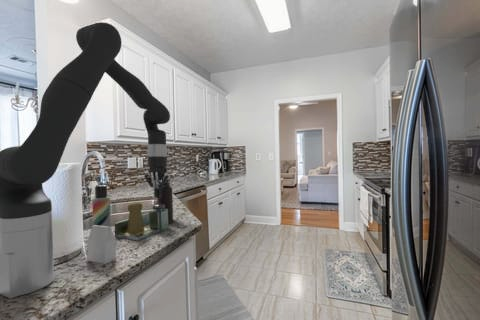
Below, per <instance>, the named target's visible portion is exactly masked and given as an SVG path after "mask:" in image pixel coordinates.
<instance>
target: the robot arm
mask: <svg viewBox="0 0 480 320" xmlns="http://www.w3.org/2000/svg"><path fill="white" fill-rule="evenodd" d="M75 40H76V42H77V45H78V46H79V48H80V50H81V51H82V52H80V54H79V55H78V56H76V57H75V58H74V59H72V60H71V61H70V62H69V63H67V64H66V65H65V66H64V67H63V68H62V69H60V71H58V73H56V74H55V76H54V77H53V78H52V79H51V81H50V83H49V85H47V87H46V89H45V91H44V92H43V95H42V97H41V101H40V109H39V116H38V120H37V122H36V124H35V126H34V127H33V129H32V131H31V132H30V134H29V135H28V136H27V137H26V139H25V141H23V143H22V144H21V145H16V146H9V147H7V148H4V149H2V150H0V295H1V296H3V297H6V298H8V299H10V300H11V299H13V298H17V297H19V296H24V295H27V294H31V293H34V292H36V291H38V290H42V289H44V288H45V287H47V286H48V285H50V284H51V283H52V282H53V281H54V280H55V266H54V265H55V263H54V261H55V259H54V239H53V236H54V235H53V207H52V206H53V205H52V199H50V198H49V197H48V195H47V194H46V193H45V191H44V188H43V184H44V183H46V182H47V181H49V180H50V179H52V178H53V176H54V175H55V173H56V171H57V169H58V167H59V165H60V162H61V159H62V157H63V155H64V152H65V149H66V146H67V143H68V142H69V140H70V137H71V135H72V134H73V132H74V130H75V128H76V126H77V125H78V123H79V121H80V119H81V117H82V115H83V114H84V112H85V110H86V108H87V107H88V106H89V103H90V102H91V99H92V98H93V95H94V93H95V91H96V90H97V87H98V85H99V84H100V82H101V80H103V79H102V78H103V76H104V74H105V73H106V75H108V76H109V78H111V79H112V80H113V81H114V82H116V84H117V85H119V86H120V87H121V89H122V90H124V92H125V93H126V94H127V95H128V96H129V98H130V99H131V100H132V101H133V104H135V106H137V107H138V108H139V109H142V110H144V112H143V115H142V116H143V117H142V118H143V122H144V125H145V130H146V133H147V144H148V145H147V167H148V168H149V169H148V173H147V174H145V175H144V179H145V180H146V182H147V183H148V185H149V186H150V187H151V188H153V195H154V198H156V199H157V198H160V197H161V196H162V188H163V187H166V185H167V183H168V182H169V180H170V181H171V178H172V175H171V174H169V173H168V170H167V167H168V150H167V133H166V131H165V130H164V129H163V130H162V129H159V127H158V125H164V124H167V123H169V121H170V118H171V114H170V110H169V109H168V108H167V107H166V106H165V104H163V103H162V102H161V101H160V100H159V99H157V98H156V97H155V96H154V95H153V94H152V92H151V91H150V90H149V89H148V87H147V86H146V84H145V83H144V82H143V81H142V80H141V79H140V78H139V77H138V76H136V75H135V74H133V73H132V72H131V71H129V70H127V69H126V68H125V67H123V66H122V65H121V64H120V63H119V62H118V61H117V60H116V57H118V54H119V53H120V51H121V49H122V37H121V34H120V32H119V30H118V29H117V28H116V27H115V26H114V25H112V24H110V23H108V22H103V21H102V22H101V21H100V22H99V21H98V22H95V23H91V24H88V25H86V26H82V27H80V28H79V29H77V30H76V35H75Z"/></svg>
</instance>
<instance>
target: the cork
mask: <svg viewBox="0 0 480 320" xmlns="http://www.w3.org/2000/svg"><path fill="white" fill-rule="evenodd" d="M127 210H128V212H129V213H128V219H129V221H128V229H127V233H139V232H142V231H144V226H143V220H142V215H143V214H142V210H143V204H142V203H141V202H138V201H137V202H136V201H135V202H134V201H133V202H130V203H129V204H128V205H127Z"/></svg>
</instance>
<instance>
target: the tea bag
mask: <svg viewBox="0 0 480 320" xmlns="http://www.w3.org/2000/svg"><path fill="white" fill-rule="evenodd" d="M86 243H87V244H86V245H87V249H86V251H87V262H93V263H99V264H104V265H106V264H108V263H110V262H112V261H115V259H117V251H116V249H117V247H116V245H117V244H116V237H115V234H114V233H113V231H112V226H111V227H107V226H98V225H93V224H92V225H91V228H90V232H89V235H88V238H87V240H86Z"/></svg>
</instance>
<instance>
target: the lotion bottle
mask: <svg viewBox="0 0 480 320" xmlns="http://www.w3.org/2000/svg"><path fill="white" fill-rule="evenodd" d="M94 193H95V194H94V195H95V196H94V198H92V200H91V201H92V203H91V204H92V225H98V226H107V227H111V228H112V223H111V220H112V219H111V217H112V216H111V197H110V196H108V186H107V185H106V184H105V185H104V184H96V185H95V187H94Z"/></svg>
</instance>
